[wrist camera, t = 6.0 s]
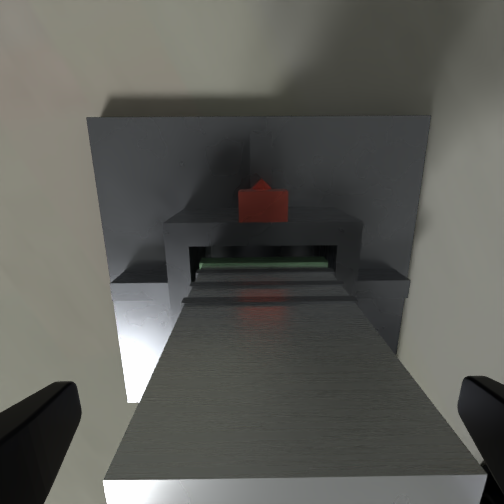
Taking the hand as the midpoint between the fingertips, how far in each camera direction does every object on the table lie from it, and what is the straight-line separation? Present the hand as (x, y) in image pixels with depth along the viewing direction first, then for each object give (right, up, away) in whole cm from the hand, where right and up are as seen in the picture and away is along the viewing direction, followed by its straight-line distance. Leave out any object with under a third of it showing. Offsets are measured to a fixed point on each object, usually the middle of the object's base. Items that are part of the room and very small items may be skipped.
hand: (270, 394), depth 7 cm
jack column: (0, +1, +4) cm, 4 cm away
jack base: (0, +2, +8) cm, 8 cm away
